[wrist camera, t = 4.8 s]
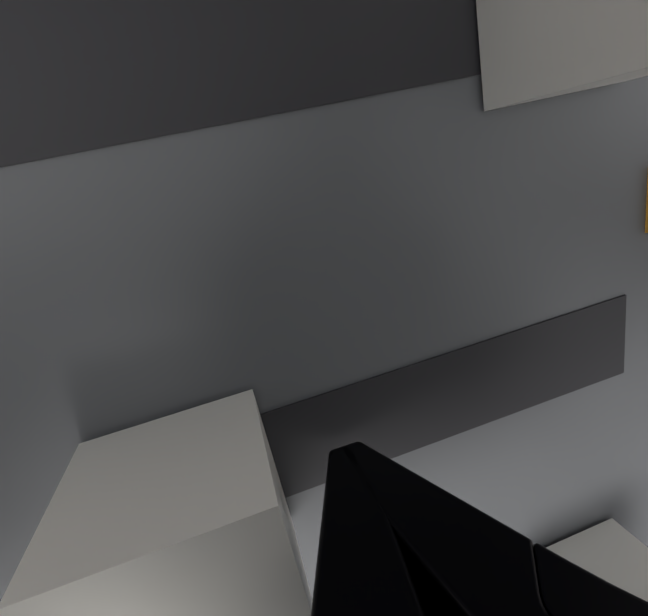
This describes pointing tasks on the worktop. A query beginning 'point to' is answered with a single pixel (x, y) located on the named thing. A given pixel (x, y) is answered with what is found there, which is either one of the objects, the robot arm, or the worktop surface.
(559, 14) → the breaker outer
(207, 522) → the block
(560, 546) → the block
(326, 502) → the robot arm
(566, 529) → the breaker panel
